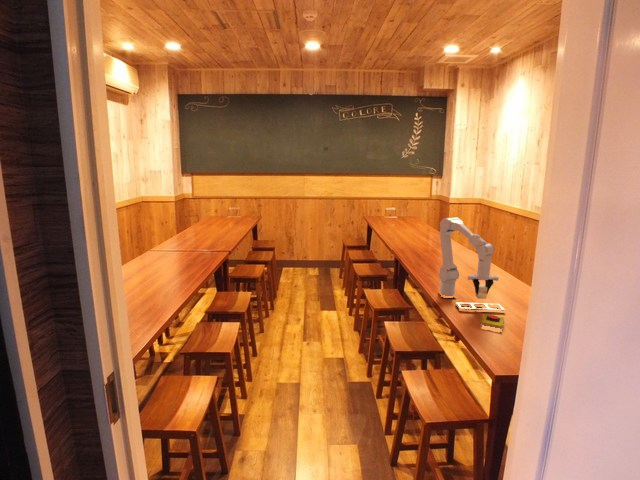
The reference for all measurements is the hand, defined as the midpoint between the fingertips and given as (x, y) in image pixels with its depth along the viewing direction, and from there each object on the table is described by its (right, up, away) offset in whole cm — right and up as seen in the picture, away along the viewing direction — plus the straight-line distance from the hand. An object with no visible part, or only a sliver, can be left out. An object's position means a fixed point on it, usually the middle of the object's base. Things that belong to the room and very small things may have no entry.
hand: (481, 293), depth 199 cm
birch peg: (0, -2, 0) cm, 2 cm away
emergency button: (-2, -13, -16) cm, 21 cm away
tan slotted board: (0, -8, +2) cm, 9 cm away
